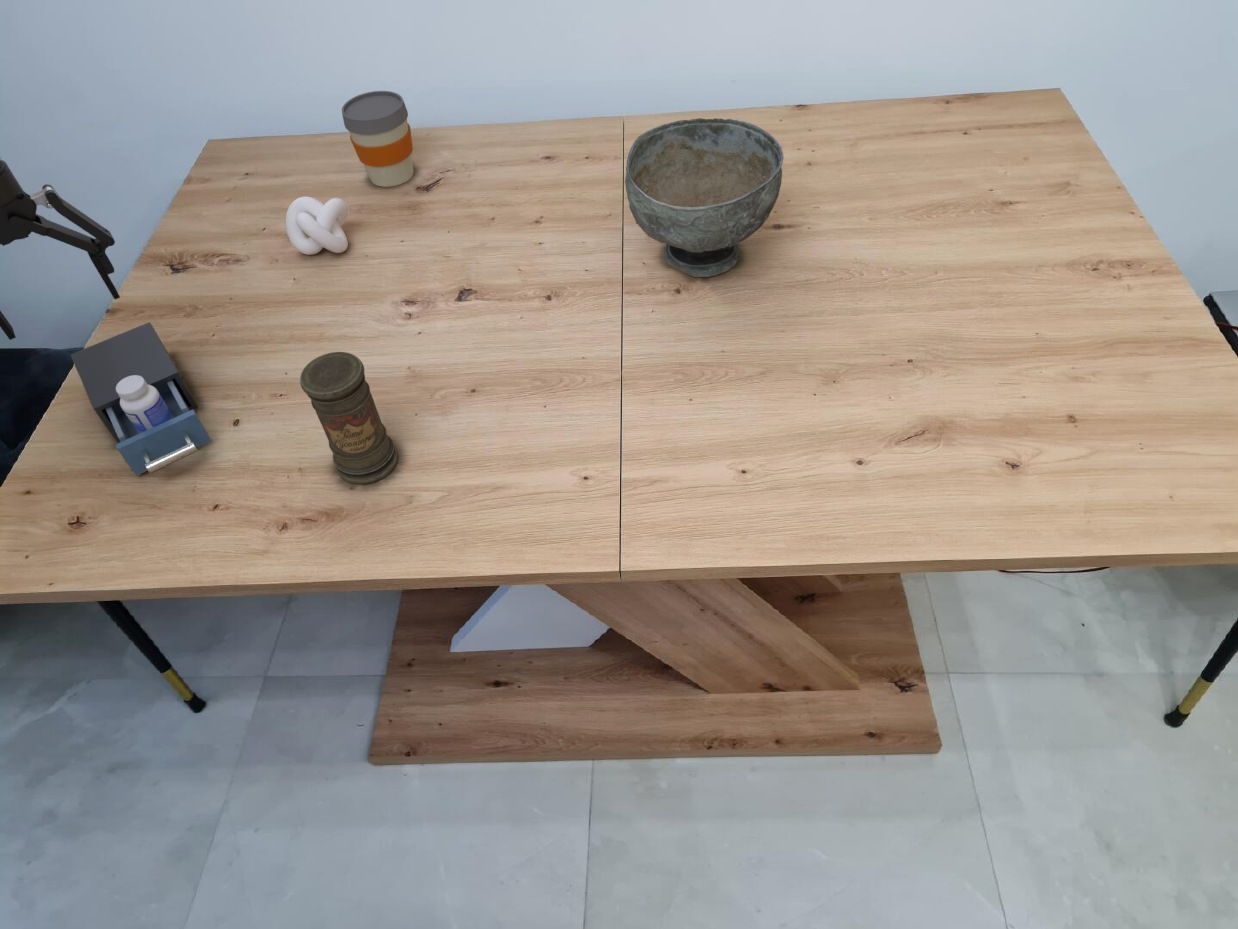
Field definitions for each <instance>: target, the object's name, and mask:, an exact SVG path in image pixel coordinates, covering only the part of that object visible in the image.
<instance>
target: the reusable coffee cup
mask: <svg viewBox="0 0 1238 929" xmlns="http://www.w3.org/2000/svg"><path fill="white" fill-rule="evenodd" d="M341 114H342V115H341V116H342V119H343V125H344V127H345V129H346V130H347V131H348V133H349V135H350V136H349V140H350V142H351V145H352V146H353V149H354V151H355V153H356V155H357V158H358V160H359V162H360V163H362V164H363V165H364V168H365V171H366V173H367V174H368V177H369V179H370V181H371V182H372V183H373V184H374V185H375V186H378V187H384V188H386V187H387V188H388V187H395V186H399V185H401V184H404V183H407V182H408V181H410V179H412V178H413V175H414V163H413V155H412V153H413V150H414V148H413V139H412V138H413V137H412V131H411V130H412V129H411V126H410V123H409V122H408V117H409V112H408V109H407V107H406V104H405V101H404V99H403V97H402V95H400V94H399V93H397V92H394V91H391V90H390V91H388V90H373V91H368V92H364V93H361V94H358V95H355V96H354V97H352V98H350V99H348V100H347V101H346V102H345V103H344V104H343V105H342V108H341Z"/></svg>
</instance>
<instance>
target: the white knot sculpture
mask: <svg viewBox="0 0 1238 929" xmlns="http://www.w3.org/2000/svg"><path fill="white" fill-rule="evenodd" d="M347 216H348V205H347V204H346V201H345V200H343V199H341V198H340V197H333V198H332V197H331V198H330V199H329V200H327V201H326V202H325V203H324V204H323V203H322V202H321V201H320V200H318V199H316V198H314V197H311V196H301V197H298V198H296V199H294V200H293V201H292V202H291V203H290V205H289V206H288V208H287V210H286V214H285V230H286V235H287V237H288V239H289V240H288V241H290V244H291V245H292V246H293V247H294V249H296V250H297V251H298V252H299V253H301V254H303V255H307V256H311V255H316V254H319V253H320V252H321V251H322V250H323V249H326V250H327V251H330V252H332V253H334V254H341V253H344V252H345V251H346V250H347V249H348V246H349V242H348V238H347V236H346V233H345V232H344V229H343V228H342V227H343V225H344V224H345V222H346V220H347ZM307 236H308V237H309V238H308V237H307Z"/></svg>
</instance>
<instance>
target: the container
mask: <svg viewBox="0 0 1238 929" xmlns="http://www.w3.org/2000/svg"><path fill="white" fill-rule="evenodd" d="M299 384H300V387H301V389H302V391H303V392H304V393H305V394H306V395H307V397H308V398H309V399H310V403H311V406H312V408H313V409H314V411H315V414H316V416H317V418H318V420H319V423H320V425H321V427H322V429H323V432H324V434H325V436H326V438H327V441H328V446H329V449H330V451H331V452H332V462H333V463H334V468H335V470H336V473H337V474H338V475H339V477H340V478H341V479H343V481H346V482H347V483H349V484H353V485H359V486H360V485H362V486H363V485H370V484H374V483H376V482H379V481H381V480H383V479H384V478H386V477H388V476H389V475H390V474H391V473H392V471H393V470H394V469H395V467H396V466H397V463H398V457H399V456H398V450H397V448H396V446H395V444H394V441H393V439H392V438H391V437H390V436H389V435H388V432H387V428H386V426H385V425H384V424H383V422H382V419H381V417H380V414H379V411H378V409H377V406H376V403H375V401H374V397H373V395H372V393H371V388H370V385H369V383H368V381H366V374H365V366H364V364H363V362H362V361H361V359H360V358H359V357H358V356H357V355H355V354H353V353H350V352H346V351H333V352H329V353H325V354H322V355H319V356H318V357H315V358H314V359H312V360H311V361H310V362H308V363H307V364H306V365H305V367H304V368H303V369H302V371H301V373H300V378H299Z"/></svg>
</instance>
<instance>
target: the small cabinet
mask: <svg viewBox="0 0 1238 929" xmlns="http://www.w3.org/2000/svg"><path fill="white" fill-rule="evenodd" d="M70 357H71V360H72V362H73V365H74V366H75V370H76V371H77V374H78V376H79V379H80V381H81V384H82V386H83V388H84V390H85V392H86V395H87V397H88V399H89V402H90V404H91V406H92V408H93V410H94V412H95V414H96V415H97V416H98V417H99V419H100V420H101V422H102V423H103V424H104V427H106V429H107V430H108V432H109V433H110V435H111V436H112V438H113V439H114V440H115V441H116V444H118V443H120V442H121V441H120V439H119V438H118V436H117V434H116V431H115V429H114V427H113V424H112V422H111V420H110V418H109V415H108V413H107V411H106V409H105V408H108V407H110V406H112V405H115V404H117V403H119V402H120V399H121V398H120V397H119V395H118V393H117V391H116V386H117V384H118V383H119V382H120V381H121V380H122V379H124V378H126V377H128V376H132V375H138V376H141V377H143V379H144V380H145V381H146V383H147V384H148V385H151V386H153V387H156V386H158V385H160V384H163V383H165V382H167V381H169V380H173V382H174V383H175V385H176V387H177V388H178V390H179V392H180V394H181V396H182V397H183V399H184V401H185V403H186V405H187V407H188V409H189V410H194V411H195V410H197V409H198V408H199V406H198V404H197V402H196V400H195V399H194V397H193V395H192V393H191V392H190V390H189V388H188V386H187V384H186V382H185V380H184V379H183V377H182V375H181V373H180V372H179V370H178V368H177V367H176V364H175V363H174V361H173V359H172V357H171V356H170V354H169V352H168V351H167V349H166V347H165V345H164V343H163V342H162V340H161V338H160V336H159V335H158V334H157V331H156V330H155V328H154V327H153V325H152V323H151V321H149V322H146V323H143V324H141V325H138V326H136V327H133V328H131V329H129V330H127V331H124V332H121V333H119V334H117V335H115V336H112V337H109V338H106V339H104V340H102V341H100V342H97V343H95V344H92V345H90V346H88V347H85V348H83V349H80V350H78V351H75V352H73V353H71V354H70Z"/></svg>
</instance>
